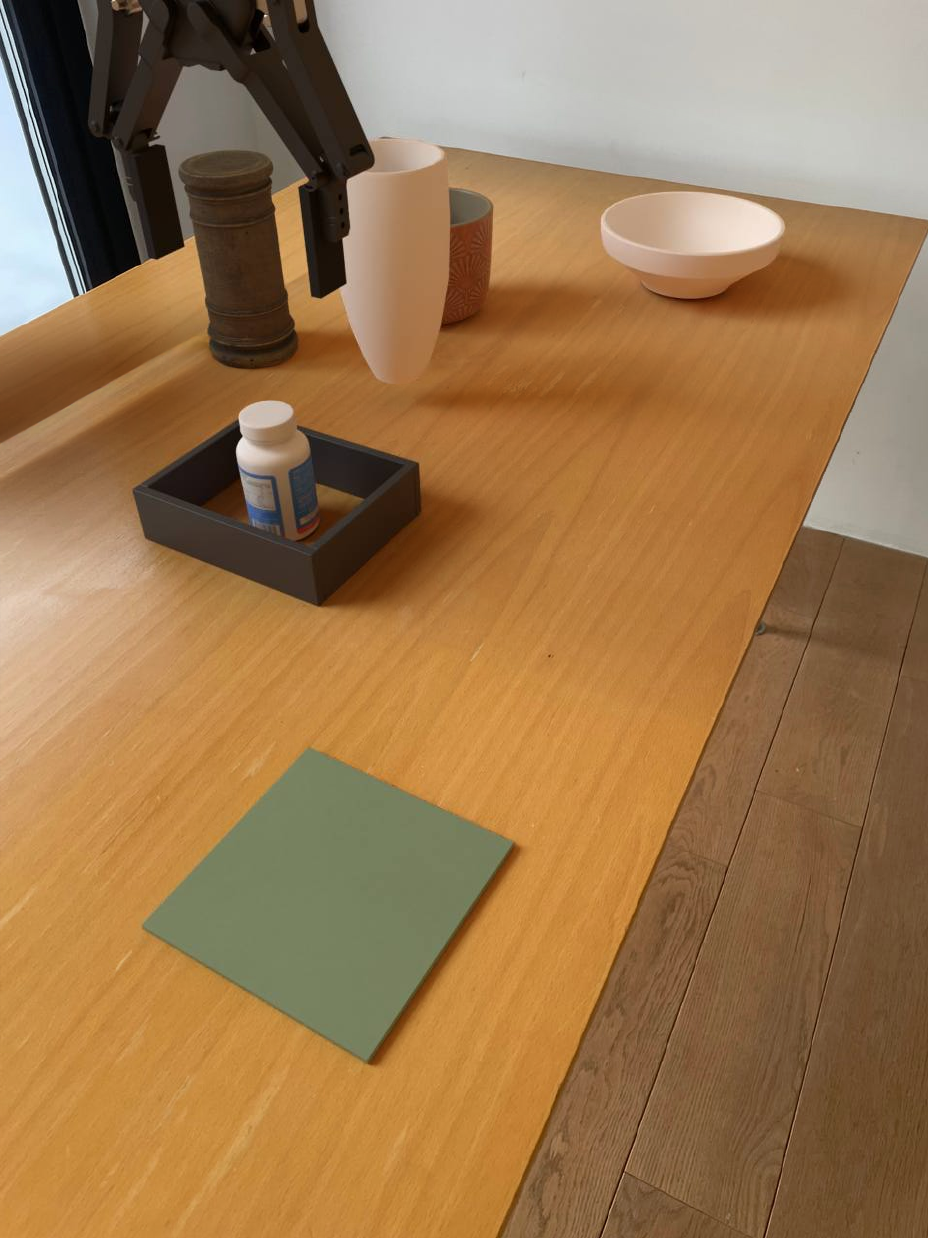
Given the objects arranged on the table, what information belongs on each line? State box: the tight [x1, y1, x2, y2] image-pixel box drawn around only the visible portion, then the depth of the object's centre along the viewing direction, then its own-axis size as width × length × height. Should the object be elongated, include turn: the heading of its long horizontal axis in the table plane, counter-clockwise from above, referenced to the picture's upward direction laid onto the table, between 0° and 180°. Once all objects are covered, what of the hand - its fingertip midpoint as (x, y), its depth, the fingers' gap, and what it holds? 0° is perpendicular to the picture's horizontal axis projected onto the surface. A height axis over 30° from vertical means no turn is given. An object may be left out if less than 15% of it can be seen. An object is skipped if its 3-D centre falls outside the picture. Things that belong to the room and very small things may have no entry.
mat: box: [141, 746, 515, 1065], centre depth 53 cm, size 14×14×1 cm
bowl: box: [600, 190, 787, 299], centre depth 111 cm, size 20×20×7 cm
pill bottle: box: [236, 400, 321, 542], centre depth 75 cm, size 6×5×10 cm
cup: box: [338, 138, 450, 385], centre depth 86 cm, size 10×10×22 cm
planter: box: [441, 186, 494, 325], centre depth 105 cm, size 12×12×11 cm
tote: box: [131, 418, 422, 607], centre depth 77 cm, size 17×14×4 cm
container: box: [177, 149, 299, 369], centre depth 96 cm, size 9×9×18 cm
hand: (244, 270), depth 66 cm, fingers open, 13 cm apart
